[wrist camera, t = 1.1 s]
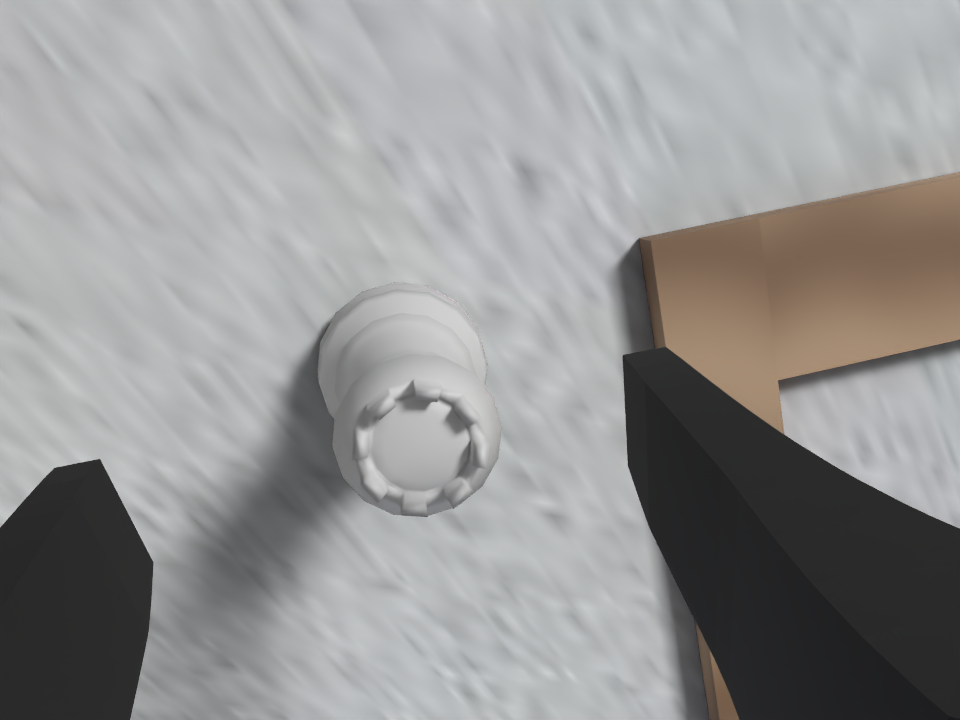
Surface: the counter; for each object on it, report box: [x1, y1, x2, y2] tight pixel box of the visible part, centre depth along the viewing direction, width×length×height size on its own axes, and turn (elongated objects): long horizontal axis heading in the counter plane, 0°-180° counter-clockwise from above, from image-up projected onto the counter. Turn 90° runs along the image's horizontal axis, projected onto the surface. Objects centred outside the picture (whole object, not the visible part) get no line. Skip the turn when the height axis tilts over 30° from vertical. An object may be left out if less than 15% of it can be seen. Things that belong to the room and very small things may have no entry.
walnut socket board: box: [639, 172, 960, 720], centre depth 26 cm, size 17×14×1 cm
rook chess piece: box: [317, 282, 502, 517], centre depth 20 cm, size 4×4×8 cm
